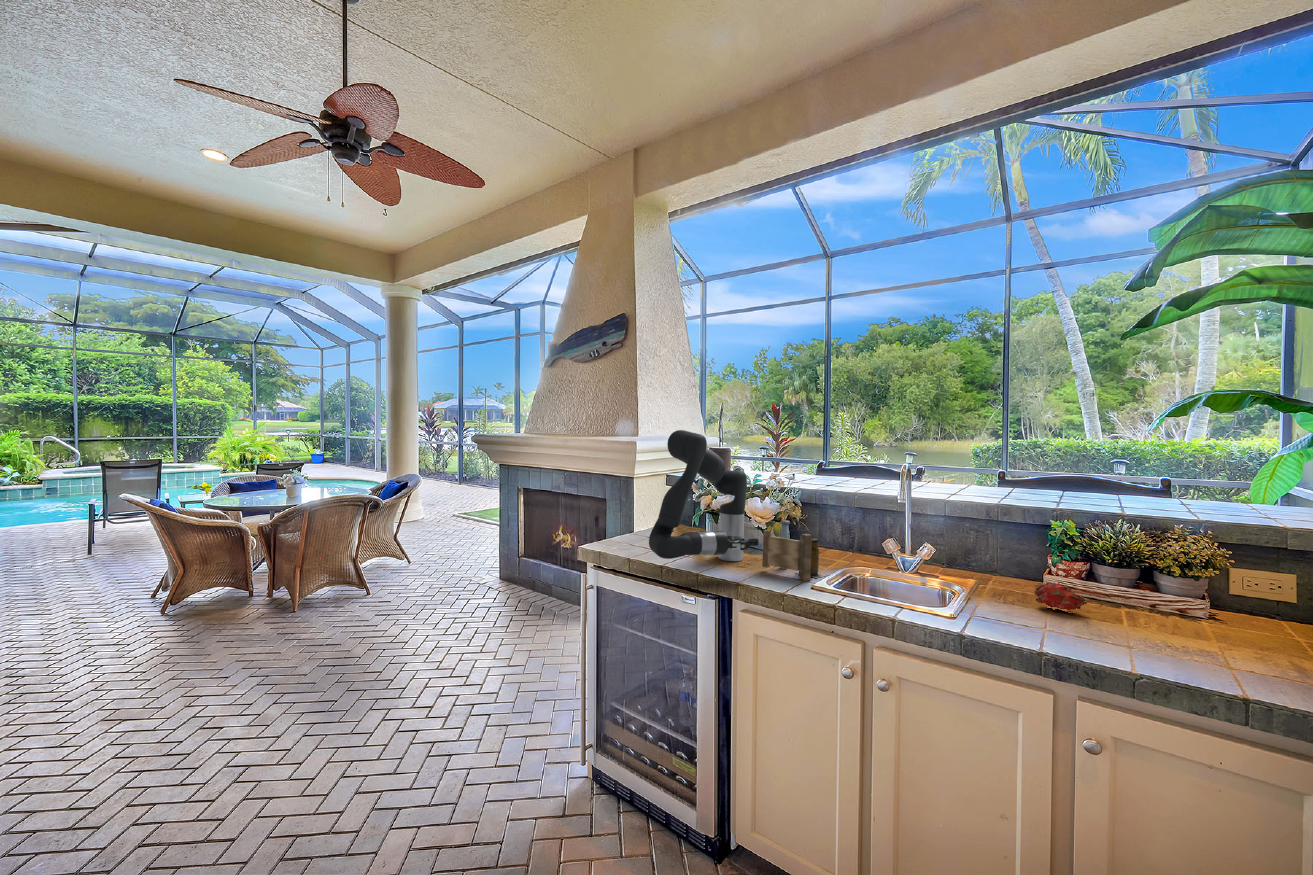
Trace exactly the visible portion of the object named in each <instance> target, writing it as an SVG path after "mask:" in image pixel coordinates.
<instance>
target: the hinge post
mask: <svg viewBox="0 0 1313 875" xmlns="http://www.w3.org/2000/svg"><path fill="white" fill-rule="evenodd" d="M800 536H801V556H800V576H799V581H802V582H804V583H805V582H806V583H807V582H811V577H810V576H811V549H812V538H813V535H812V534H809V533H801V534H800Z"/></svg>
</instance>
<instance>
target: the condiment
mask: <svg viewBox="0 0 1313 875" xmlns="http://www.w3.org/2000/svg"><path fill="white" fill-rule="evenodd" d="M819 561H820V547H819V539H817V538H813V537H812V549H811V576H810V578H814V579H818V578H824V577H827V576H828V574H825V573H821V572H819V564H820V563H819ZM794 573H796V574H798V575H799V571H794Z"/></svg>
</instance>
